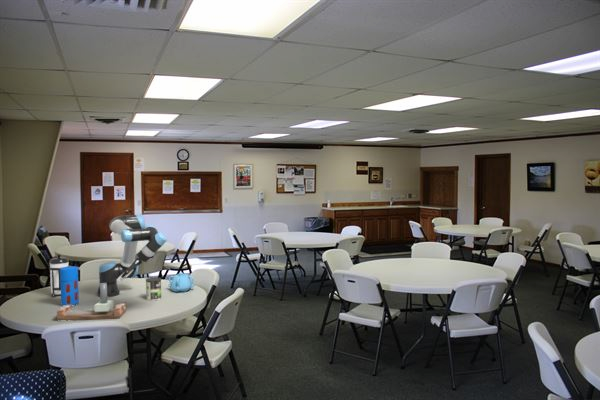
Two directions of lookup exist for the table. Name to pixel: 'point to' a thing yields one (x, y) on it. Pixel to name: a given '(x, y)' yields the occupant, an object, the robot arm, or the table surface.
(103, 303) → the carriage
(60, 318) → the rail board
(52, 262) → the coffee press
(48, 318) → the table surface
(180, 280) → the decorative pot
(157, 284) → the coffee can
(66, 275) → the thermos
